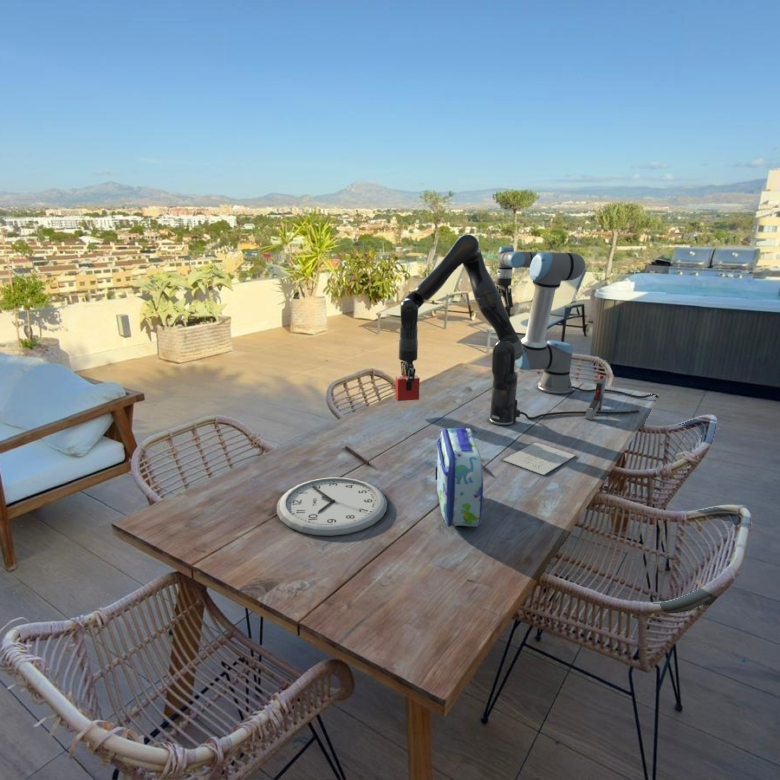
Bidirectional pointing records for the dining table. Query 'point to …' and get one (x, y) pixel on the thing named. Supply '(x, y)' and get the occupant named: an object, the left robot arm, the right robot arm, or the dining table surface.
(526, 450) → the invitation card
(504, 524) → the dining table surface
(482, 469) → the fork
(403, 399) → the brick
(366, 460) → the brown thin stick
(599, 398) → the toy gun
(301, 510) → the wall clock
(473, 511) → the lunch box
